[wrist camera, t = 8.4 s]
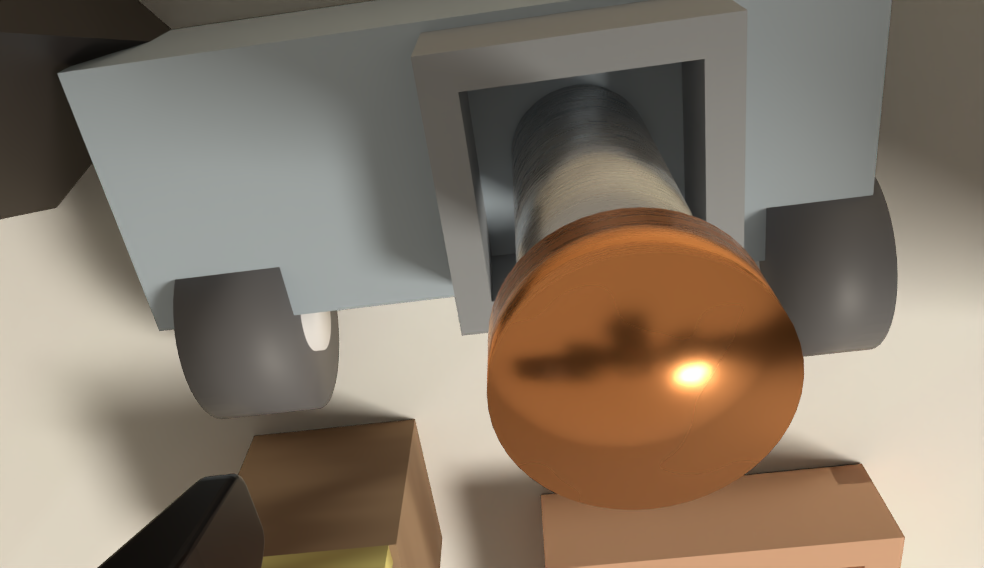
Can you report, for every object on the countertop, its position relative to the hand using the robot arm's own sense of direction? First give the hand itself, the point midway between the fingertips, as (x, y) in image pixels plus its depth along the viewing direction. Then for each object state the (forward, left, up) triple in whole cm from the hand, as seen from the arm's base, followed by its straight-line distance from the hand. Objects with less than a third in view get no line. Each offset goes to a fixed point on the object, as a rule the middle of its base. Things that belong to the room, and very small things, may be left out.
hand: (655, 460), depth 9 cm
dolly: (+2, +1, -13) cm, 13 cm away
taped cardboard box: (+8, +11, -13) cm, 19 cm away
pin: (0, 0, -9) cm, 9 cm away
